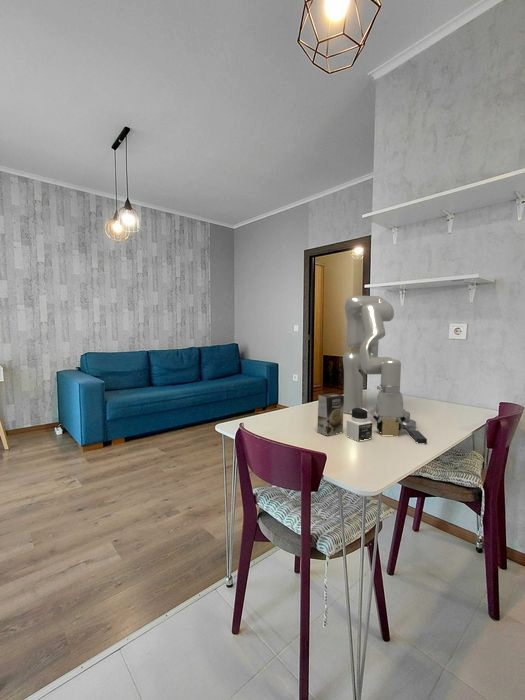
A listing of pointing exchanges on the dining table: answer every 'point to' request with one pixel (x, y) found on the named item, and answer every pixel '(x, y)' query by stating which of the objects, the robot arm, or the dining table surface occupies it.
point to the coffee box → (330, 413)
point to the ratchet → (412, 430)
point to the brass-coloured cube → (390, 426)
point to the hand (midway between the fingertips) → (388, 431)
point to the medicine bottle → (359, 425)
